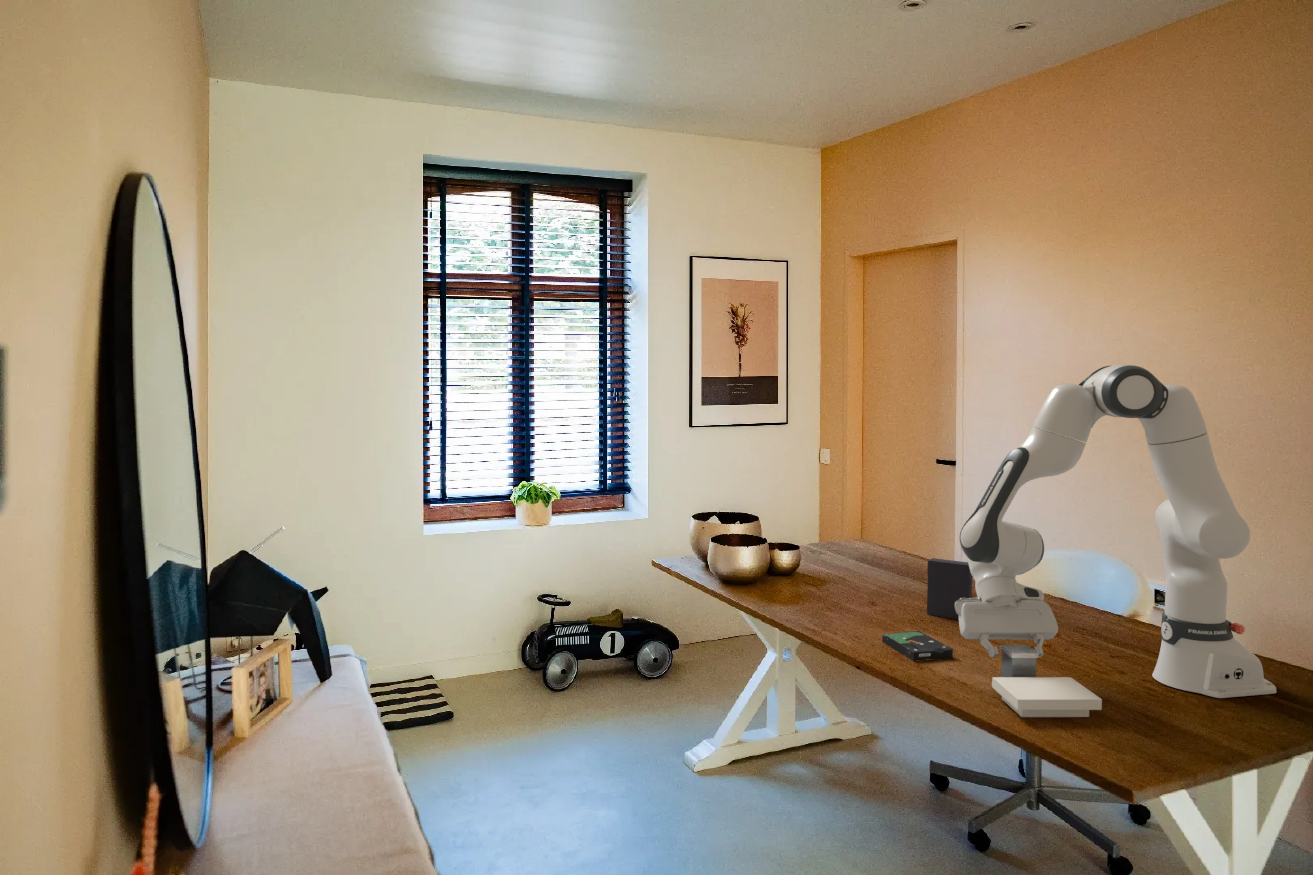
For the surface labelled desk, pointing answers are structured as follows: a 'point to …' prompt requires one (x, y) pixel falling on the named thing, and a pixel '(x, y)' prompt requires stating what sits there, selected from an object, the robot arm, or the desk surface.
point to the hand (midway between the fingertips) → (1016, 656)
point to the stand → (1046, 696)
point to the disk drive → (917, 645)
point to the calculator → (947, 586)
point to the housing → (1018, 661)
